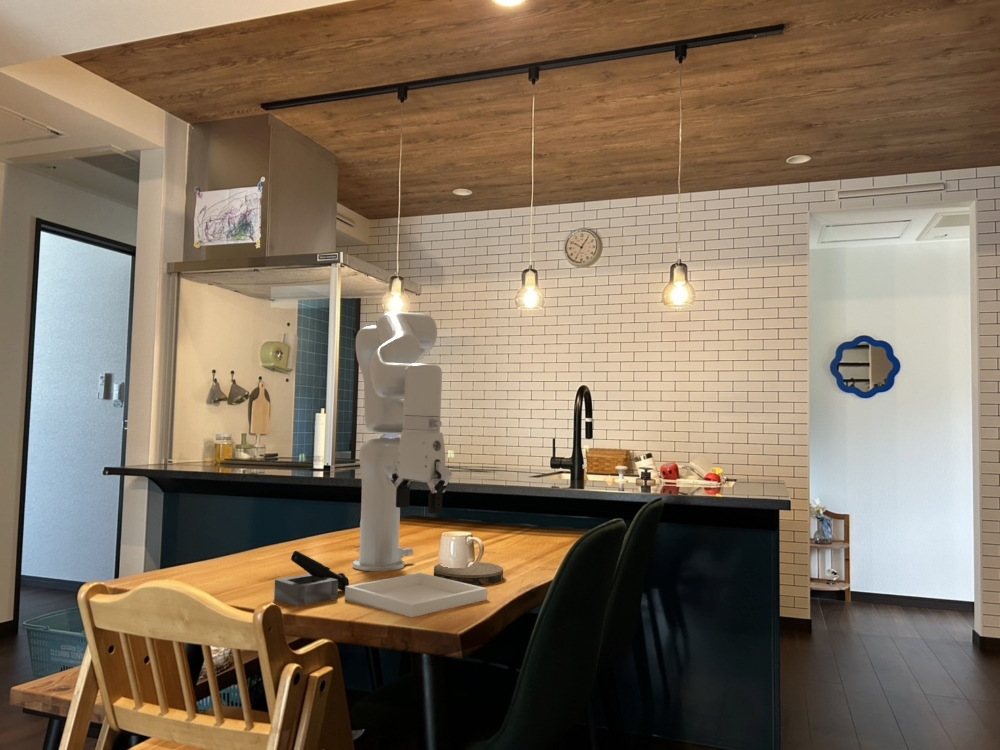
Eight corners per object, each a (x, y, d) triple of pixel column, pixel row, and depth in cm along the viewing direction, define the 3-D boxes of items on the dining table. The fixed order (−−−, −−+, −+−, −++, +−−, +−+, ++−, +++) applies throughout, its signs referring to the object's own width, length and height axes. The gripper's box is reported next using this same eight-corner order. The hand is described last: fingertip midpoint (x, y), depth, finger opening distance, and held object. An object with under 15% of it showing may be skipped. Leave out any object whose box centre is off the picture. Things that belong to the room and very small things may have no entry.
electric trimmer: (282, 561, 152) (291, 547, 153) (337, 588, 162) (345, 574, 163) (292, 567, 149) (301, 552, 150) (347, 594, 159) (355, 579, 160)
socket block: (313, 592, 159) (314, 573, 159) (337, 600, 153) (338, 579, 153) (274, 600, 152) (275, 579, 152) (297, 607, 146) (298, 586, 147)
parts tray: (419, 586, 167) (420, 572, 167) (486, 603, 154) (487, 588, 154) (344, 601, 152) (345, 586, 152) (411, 621, 139) (412, 604, 139)
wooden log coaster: (465, 571, 186) (465, 558, 187) (516, 581, 176) (517, 568, 177) (418, 581, 174) (419, 567, 174) (471, 592, 164) (471, 578, 164)
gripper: (465, 426, 152) (461, 513, 151) (407, 422, 163) (404, 503, 163) (437, 427, 146) (434, 517, 146) (379, 422, 158) (376, 506, 157)
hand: (418, 509), depth 154 cm, fingers open, 9 cm apart
